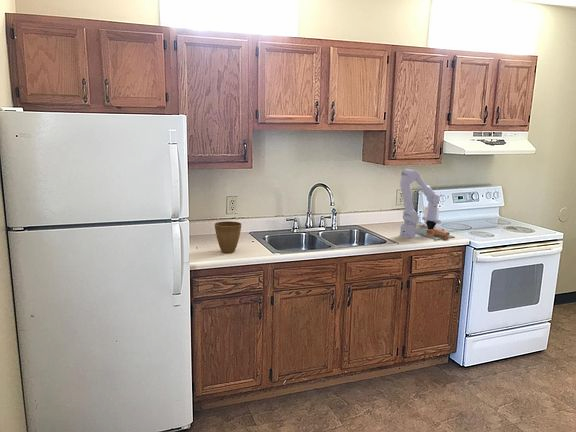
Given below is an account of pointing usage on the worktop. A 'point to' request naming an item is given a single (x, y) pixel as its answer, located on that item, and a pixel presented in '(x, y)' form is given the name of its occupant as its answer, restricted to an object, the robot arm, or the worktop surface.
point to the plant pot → (228, 235)
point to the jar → (427, 212)
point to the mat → (423, 233)
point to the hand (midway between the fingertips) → (430, 232)
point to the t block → (438, 233)
